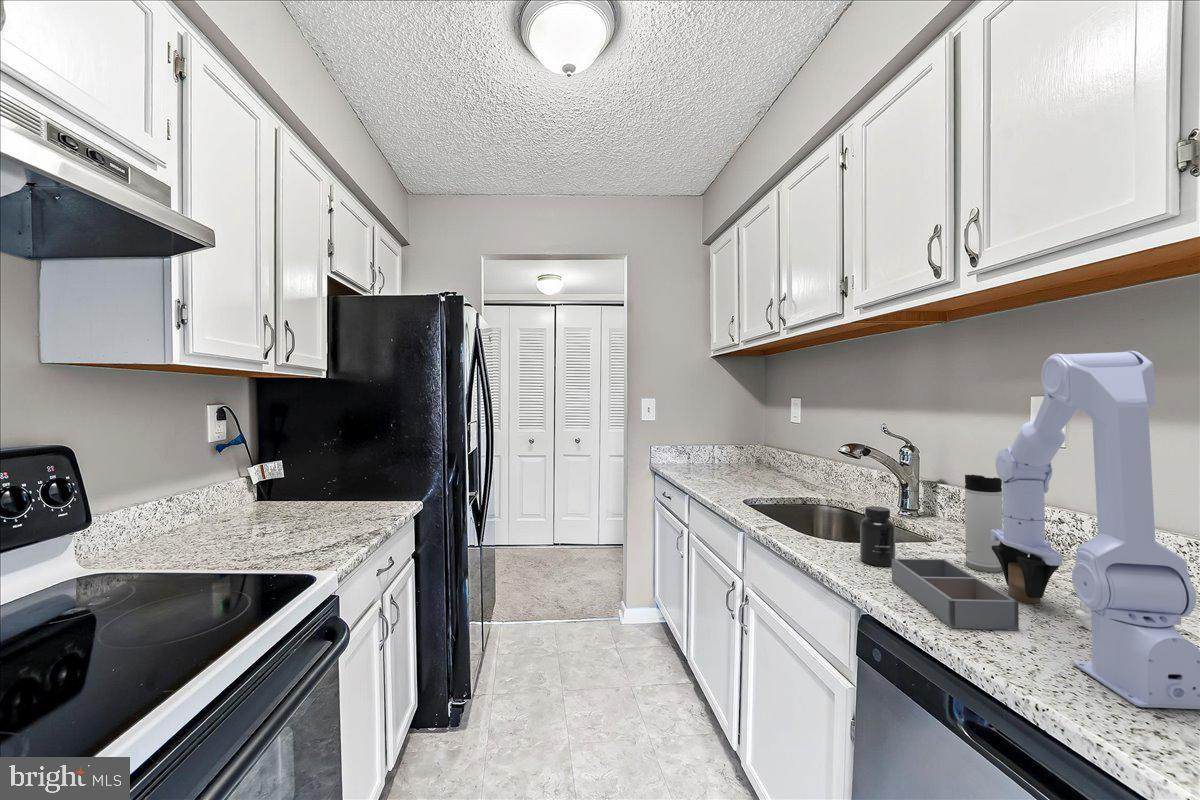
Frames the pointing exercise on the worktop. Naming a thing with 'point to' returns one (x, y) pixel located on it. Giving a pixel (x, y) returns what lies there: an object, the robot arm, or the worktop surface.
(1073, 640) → the worktop surface
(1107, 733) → the worktop surface
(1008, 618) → the organiser
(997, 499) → the travel mug
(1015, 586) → the walnut cylinder
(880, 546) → the supplement bottle
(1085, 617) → the marshmallow
